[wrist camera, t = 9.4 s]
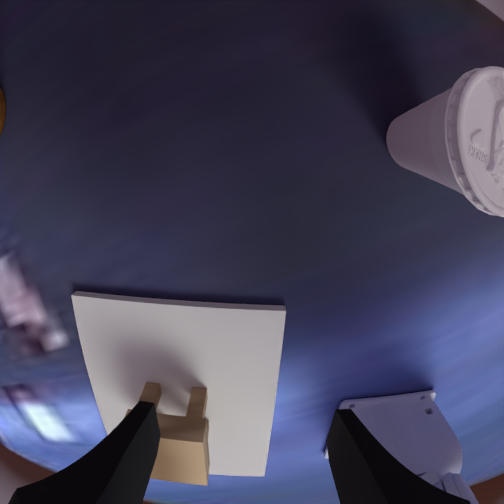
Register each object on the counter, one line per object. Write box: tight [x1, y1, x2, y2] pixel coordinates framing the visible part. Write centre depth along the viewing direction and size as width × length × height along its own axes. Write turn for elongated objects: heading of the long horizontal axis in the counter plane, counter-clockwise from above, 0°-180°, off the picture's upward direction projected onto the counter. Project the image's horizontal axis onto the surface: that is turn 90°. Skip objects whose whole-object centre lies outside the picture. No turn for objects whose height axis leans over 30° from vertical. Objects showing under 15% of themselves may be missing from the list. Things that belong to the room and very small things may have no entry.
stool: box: [124, 382, 210, 485], centre depth 20 cm, size 5×5×6 cm
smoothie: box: [386, 66, 504, 217], centre depth 11 cm, size 6×6×14 cm
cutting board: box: [71, 291, 286, 476], centre depth 23 cm, size 15×19×1 cm
